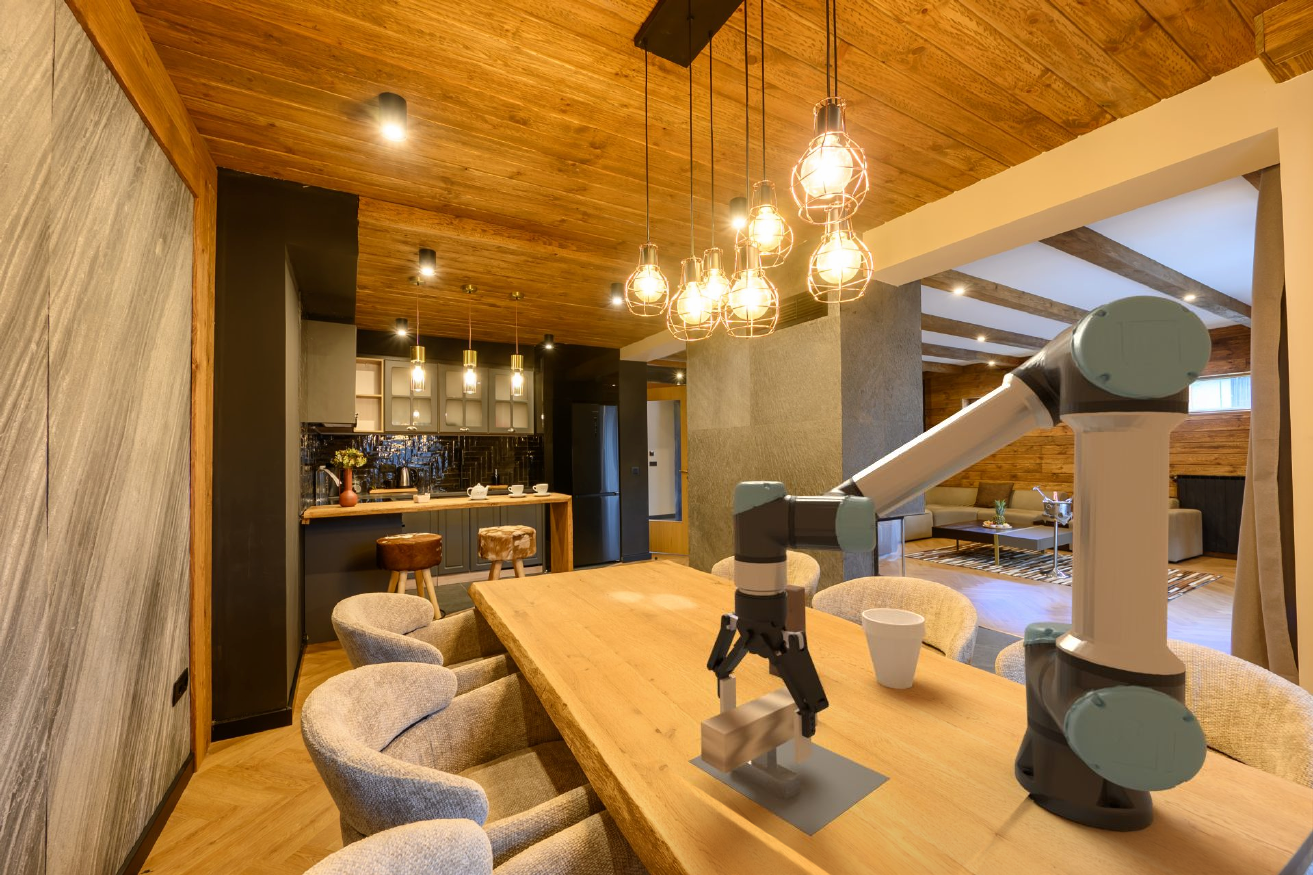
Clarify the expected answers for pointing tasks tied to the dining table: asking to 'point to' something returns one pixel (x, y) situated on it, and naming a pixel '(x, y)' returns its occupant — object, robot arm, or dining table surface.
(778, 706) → the beech bar
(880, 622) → the cup
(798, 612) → the wooden block
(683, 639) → the dining table surface
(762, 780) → the fulcrum ridge
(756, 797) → the slate board
